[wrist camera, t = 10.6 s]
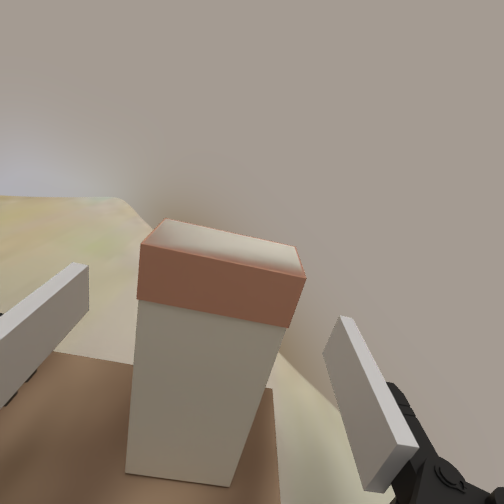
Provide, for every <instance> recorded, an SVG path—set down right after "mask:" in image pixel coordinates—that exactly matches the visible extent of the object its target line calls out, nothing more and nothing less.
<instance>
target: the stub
mask: <svg viewBox="0 0 504 504" xmlns="http://www.w3.org/2000/svg"><path fill="white" fill-rule="evenodd" d="M306 279H307V278H306V275H305V272H304V270H303V267H302V264H301V261H300V258H299V255H298V252H297V250H296V247H295V246H291V245H286V244H282V243H277V242H273V241H268V240H264V239H259V238H255V237H250V236H245V235H241V234H236V233H232V232H227V231H222V230H218V229H214V228H209V227H205V226H200V225H195V224H191V223H187V222H182V221H177V220H173V219H168V218H165V219H164V220H163V221H162V222H161V223H160V224H159V225H158V226H157V227H156V228H155V229H154V230H153V231H152V232H151V233H150V234H149V235H148V236H147V237H146V238H145V239H144V241H143V242H142V243H141V246H140V259H139V273H138V286H137V299H139V301H138V314H137V326H136V339H135V352H134V365H133V377H132V390H131V403H130V415H129V428H128V441H127V454H126V466H125V473H129V474H137V475H144V476H152V477H159V478H166V479H174V480H181V481H188V482H196V483H203V484H210V485H218V486H225V487H230V484H231V481H232V479H233V476H234V473H235V470H236V467H237V465H238V462H239V459H240V456H241V454H242V451H243V448H244V445H245V442H246V440H247V437H248V434H249V431H250V428H251V426H252V423H253V420H254V417H255V415H256V412H257V409H258V406H259V403H260V401H261V398H262V395H263V392H264V389H265V387H266V384H267V381H268V378H269V376H270V373H271V370H272V367H273V364H274V362H275V359H276V356H277V353H278V350H279V348H280V345H281V342H282V339H283V336H284V334H285V331H286V328H289V325H290V322H291V319H292V317H293V314H294V312H295V309H296V306H297V303H298V301H299V298H300V295H301V292H302V290H303V287H304V284H305V281H306Z"/></svg>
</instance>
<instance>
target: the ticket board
mask: <svg viewBox="0 0 504 504" xmlns="http://www.w3.org/2000/svg"><path fill="white" fill-rule="evenodd" d="M132 377H133V365H130V364H124V363H118V362H112V361H106V360H100V359H95V358H89V357H83V356H77V355H71V354H65V353H59V352H54V351H52V352H51V353H50V354H49V355H48V357H47V358H46V359H45V360H44V361H43V362H42V363H41V364H40V366H39V367H38V368H37V369H36V370H35V371H34V372H33V373H32V374H31V376H30V377H29V378H28V379H27V380H26V381H25V382H24V383H23V385H22V386H21V387H20V388H19V389H18V390H17V391H16V392H15V393H14V395H13V396H12V397H11V398H10V399H9V400H8V401H7V402H6V404H5V405H4V406H3V407H2V408H1V409H0V504H281V502H280V489H279V475H278V461H277V447H276V433H275V419H274V405H273V391H272V389H270V388H265V389H264V392H263V395H262V398H261V401H260V403H259V406H258V409H257V412H256V415H255V417H254V420H253V423H252V426H251V428H250V431H249V434H248V437H247V440H246V442H245V445H244V448H243V451H242V454H241V456H240V459H239V462H238V465H237V467H236V470H235V473H234V476H233V479H232V481H231V484H230V487H225V486H218V485H210V484H203V483H196V482H188V481H181V480H174V479H166V478H159V477H152V476H144V475H137V474H129V473H125V466H126V454H127V441H128V428H129V415H130V403H131V390H132Z"/></svg>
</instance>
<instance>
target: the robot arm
mask: <svg viewBox="0 0 504 504" xmlns="http://www.w3.org/2000/svg"><path fill="white" fill-rule="evenodd" d="M88 311H89V265H84V264H79V263H74V262H72V263H71V264H70V265H68V266H67V267H66V268H64V269H63V270H62V271H60V272H59V273H58V274H56V275H55V276H54V277H52V278H51V279H50V280H48V281H47V282H46V283H44V284H43V285H42V286H40V287H39V288H38V289H36V290H35V291H34V292H32V293H31V294H30V295H28V296H27V297H26V298H24V299H23V300H22V301H20V302H19V303H18V304H16V305H15V306H14V307H12V308H11V309H10V310H8V311H7V312H6V313H4V314H2V313H0V409H1V408H2V407H3V406H4V405H5V404H6V402H7V401H8V400H9V399H10V398H11V397H12V396H13V395H14V393H15V392H16V391H17V390H18V389H19V388H20V387H21V386H22V385H23V383H24V382H25V381H26V380H27V379H28V378H29V377H30V376H31V374H32V373H33V372H34V371H35V370H36V369H37V368H38V367H39V366H40V364H41V363H42V362H43V361H44V360H45V359H46V358H47V357H48V355H49V354H50V353H51V352H52V351H53V350H54V349H55V348H56V347H57V345H58V344H59V343H60V342H61V341H62V340H63V339H64V338H65V336H66V335H67V334H68V333H69V332H70V331H71V330H72V329H73V327H74V326H75V325H76V324H77V323H78V322H79V321H80V320H81V319H82V317H83V316H84V315H85V314H86V313H87V312H88ZM323 357H324V360H325V363H326V367H327V370H328V374H329V377H330V380H331V383H332V387H333V390H334V393H335V397H336V400H337V403H338V406H339V409H340V413H341V417H342V420H343V423H344V426H345V430H346V433H347V436H348V440H349V443H350V446H351V450H352V453H353V456H354V459H355V463H356V466H357V469H358V473H359V476H360V479H361V483H362V486H363V489H364V491H369V492H377V493H385V491H386V490H387V489H388V487H389V486H390V485H392V487H393V490H394V493H395V495H396V496H395V498H394V499H393V500H392V501H391V502H390V504H504V487H498V488H496V489H495V490H494V491H493V492H492V493H491V494H490V493H488V492H486V491H484V490H481V489H480V488H478V487H476V486H474V485H471V484H469V483H467V482H466V481H465V479H464V478H463V476H462V475H461V474H460V472H459V471H458V470H457V469H456V468H455V467H454V466H453V465H452V464H450V463H449V462H448V461H446V460H445V459H443V458H441V457H439V456H438V455H437V453H436V451H435V449H434V447H433V446H432V444H431V442H430V440H429V439H428V437H427V435H426V433H425V432H424V430H423V428H422V426H421V424H420V423H419V421H418V419H417V418H416V417H415V414H414V412H413V410H412V408H410V405H409V403H408V401H407V399H406V398H405V396H404V394H403V393H402V392H401V391H400V390H399V389H398V387H397V386H396V385H395V384H394V383H390V382H385V380H384V378H383V376H382V374H381V372H380V370H379V368H378V366H377V364H376V363H375V360H374V359H373V356H372V355H371V353H370V351H369V349H368V347H367V345H366V343H365V341H364V339H363V337H362V335H361V333H360V331H359V329H358V327H357V325H356V324H355V322H354V320H353V318H350V317H344V316H339V317H338V319H337V322H336V324H335V326H334V328H333V331H332V333H331V335H330V337H329V340H328V342H327V345H326V346H325V349H324V351H323Z"/></svg>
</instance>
